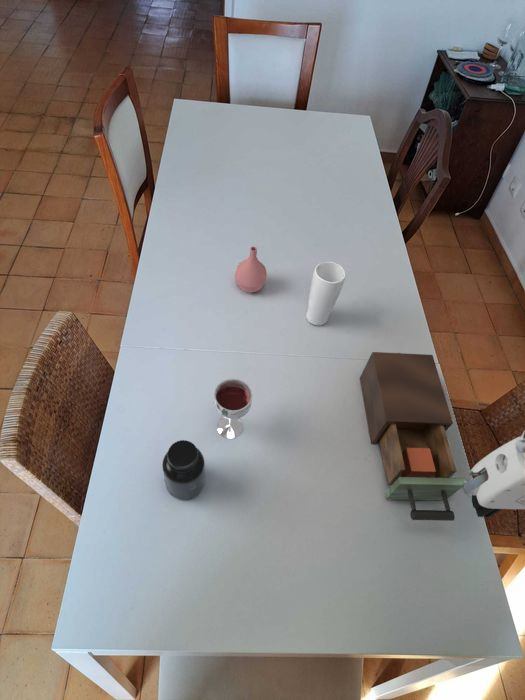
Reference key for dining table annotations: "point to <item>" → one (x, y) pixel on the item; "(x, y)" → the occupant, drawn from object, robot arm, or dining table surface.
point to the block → (418, 462)
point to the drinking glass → (324, 291)
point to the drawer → (418, 487)
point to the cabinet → (402, 392)
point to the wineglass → (232, 406)
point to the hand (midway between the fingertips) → (480, 505)
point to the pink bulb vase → (251, 273)
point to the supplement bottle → (184, 470)
